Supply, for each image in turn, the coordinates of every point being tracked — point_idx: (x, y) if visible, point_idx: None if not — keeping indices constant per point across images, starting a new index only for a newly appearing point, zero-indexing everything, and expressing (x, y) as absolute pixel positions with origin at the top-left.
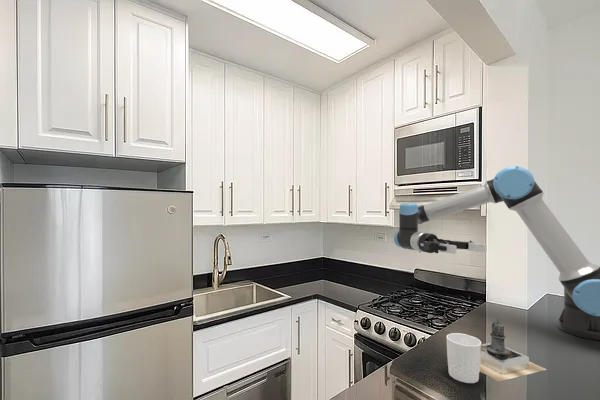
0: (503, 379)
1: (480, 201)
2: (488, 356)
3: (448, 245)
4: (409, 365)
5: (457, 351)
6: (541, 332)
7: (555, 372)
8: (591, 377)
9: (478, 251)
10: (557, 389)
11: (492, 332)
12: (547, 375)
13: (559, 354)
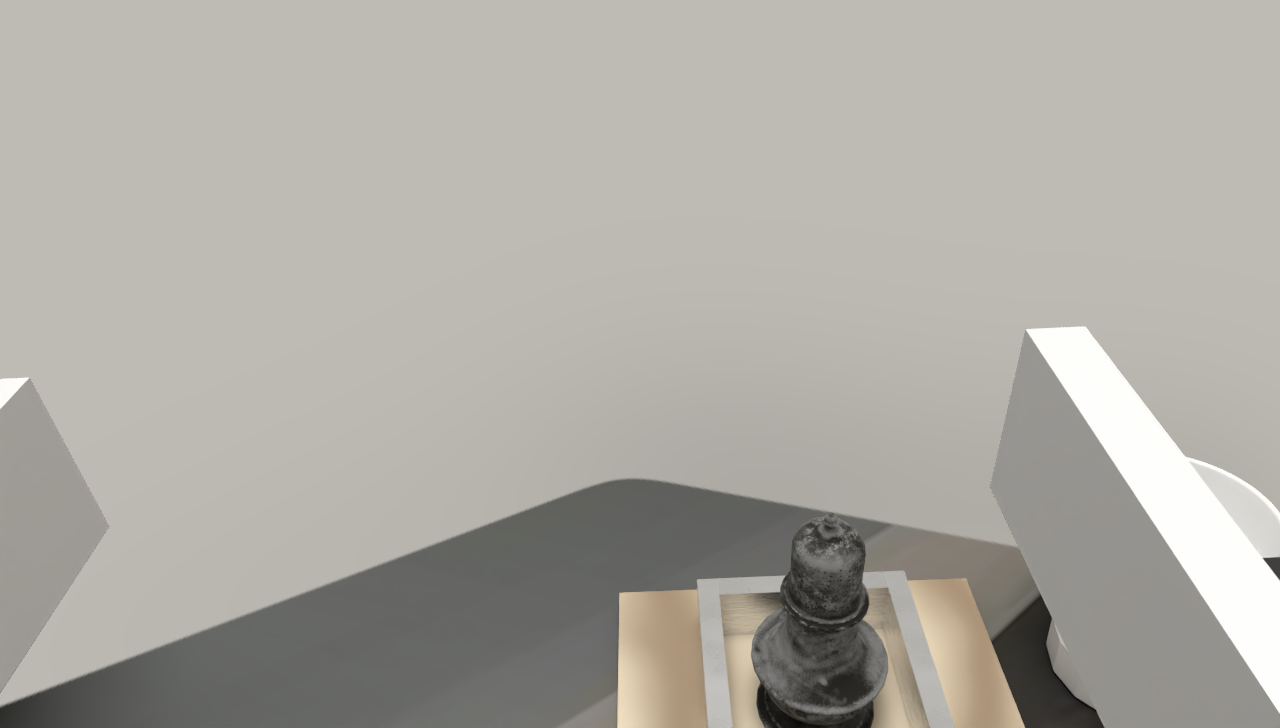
0: (928, 583)
1: None
2: (924, 639)
3: (1179, 470)
4: None
5: (1234, 518)
6: None
7: (577, 595)
8: (473, 536)
9: (12, 668)
10: (727, 517)
11: (860, 592)
12: (647, 588)
13: (301, 711)
